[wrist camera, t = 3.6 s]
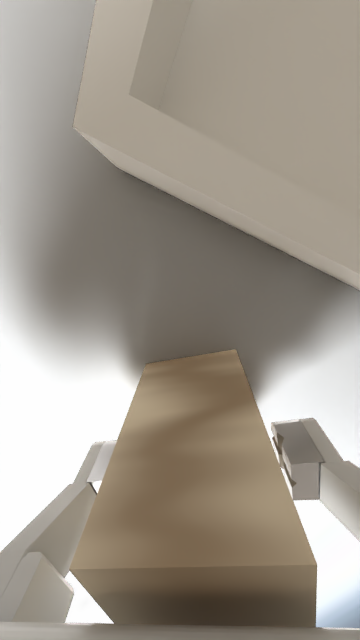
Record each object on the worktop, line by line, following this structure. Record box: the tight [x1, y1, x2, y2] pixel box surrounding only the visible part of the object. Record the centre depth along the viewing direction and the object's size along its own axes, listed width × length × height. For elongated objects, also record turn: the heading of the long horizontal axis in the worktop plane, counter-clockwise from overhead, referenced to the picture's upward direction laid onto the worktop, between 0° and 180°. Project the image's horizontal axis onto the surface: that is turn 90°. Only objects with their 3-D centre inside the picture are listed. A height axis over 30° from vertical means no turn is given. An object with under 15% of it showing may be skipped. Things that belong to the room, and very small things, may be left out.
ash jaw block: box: [69, 349, 317, 627], centre depth 8 cm, size 4×4×7 cm
